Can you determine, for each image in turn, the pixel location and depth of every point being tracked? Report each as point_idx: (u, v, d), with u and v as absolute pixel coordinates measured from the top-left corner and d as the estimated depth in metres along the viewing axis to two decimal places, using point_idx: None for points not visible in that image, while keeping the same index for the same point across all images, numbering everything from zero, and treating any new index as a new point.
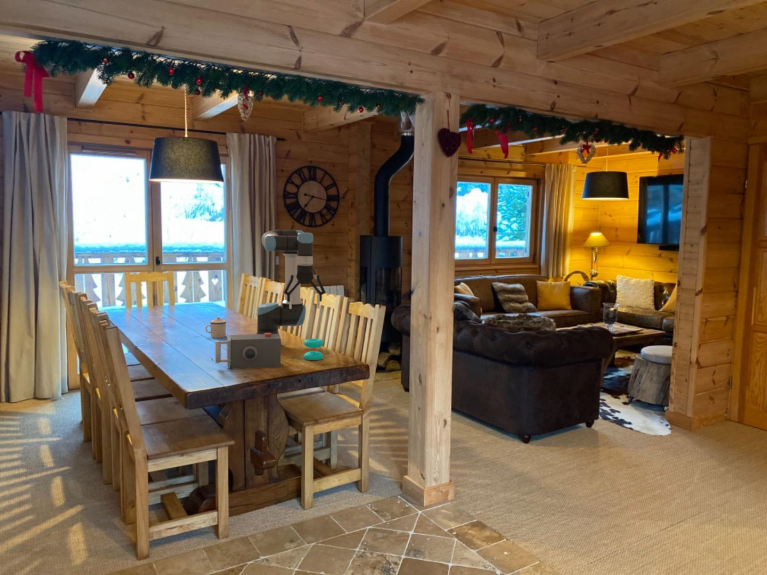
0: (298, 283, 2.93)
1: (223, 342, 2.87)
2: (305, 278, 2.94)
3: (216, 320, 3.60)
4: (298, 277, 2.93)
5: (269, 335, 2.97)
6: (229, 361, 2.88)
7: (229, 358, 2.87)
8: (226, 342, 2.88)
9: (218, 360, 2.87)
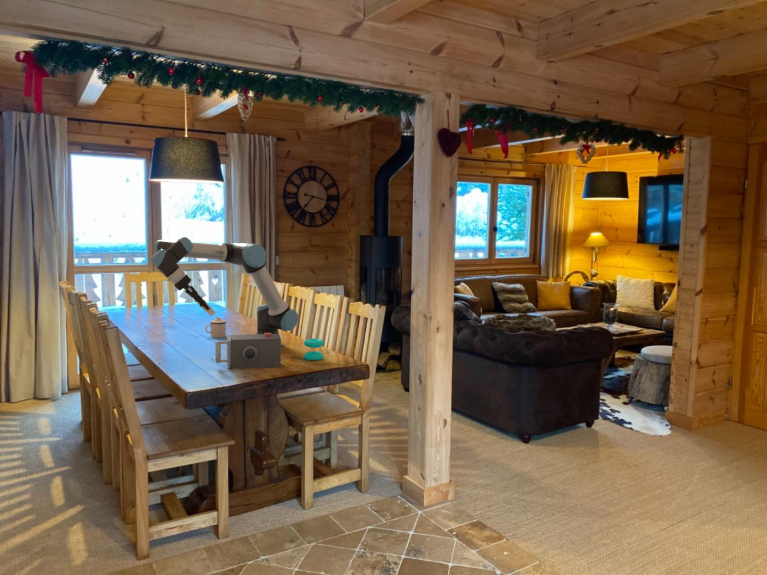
0: (189, 295, 2.85)
1: (223, 342, 2.87)
2: (187, 291, 2.82)
3: (216, 320, 3.60)
4: None
5: (269, 335, 2.97)
6: (229, 361, 2.88)
7: (229, 358, 2.87)
8: (226, 342, 2.88)
9: (218, 360, 2.87)
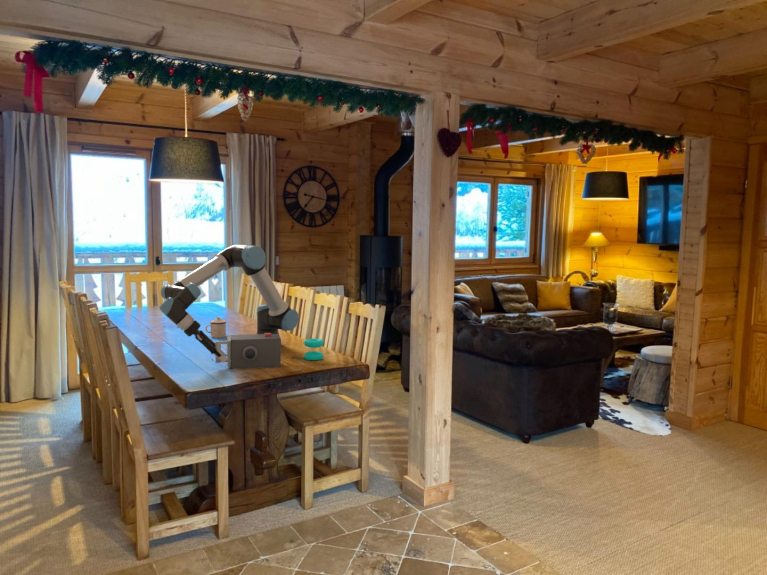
0: None
1: (223, 342, 2.87)
2: None
3: (216, 320, 3.60)
4: None
5: (269, 335, 2.97)
6: (229, 361, 2.88)
7: (229, 358, 2.87)
8: (226, 342, 2.88)
9: (218, 360, 2.87)
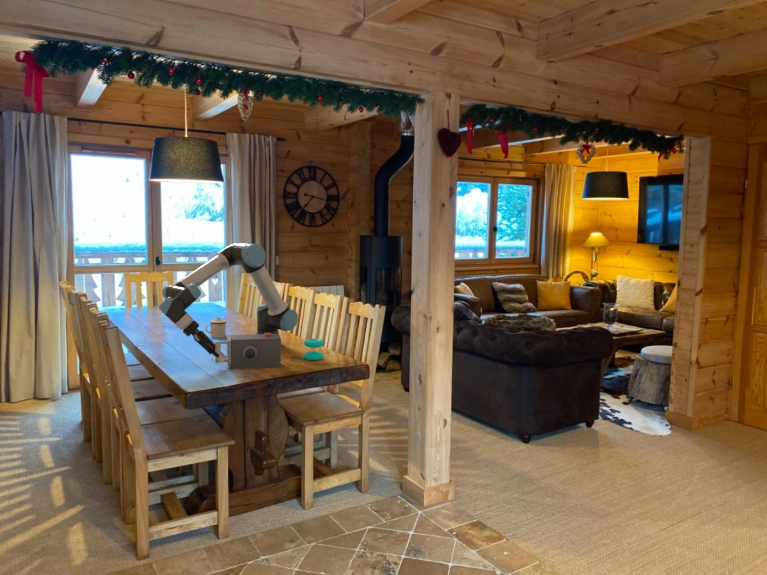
0: None
1: (223, 342, 2.87)
2: None
3: (216, 320, 3.60)
4: None
5: (269, 335, 2.97)
6: (229, 361, 2.88)
7: (229, 358, 2.87)
8: (226, 342, 2.88)
9: (218, 360, 2.87)
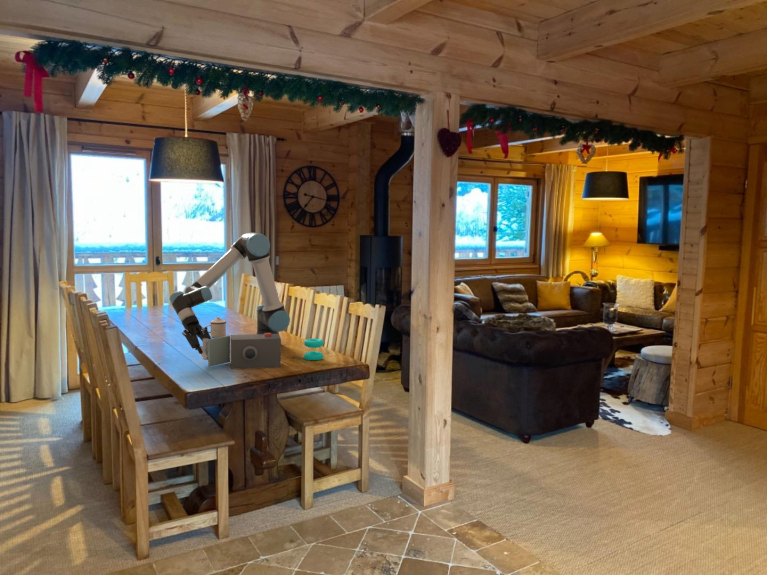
0: None
1: (207, 340, 2.91)
2: None
3: (216, 320, 3.60)
4: None
5: (269, 335, 2.97)
6: (209, 360, 2.89)
7: (209, 357, 2.89)
8: None
9: None
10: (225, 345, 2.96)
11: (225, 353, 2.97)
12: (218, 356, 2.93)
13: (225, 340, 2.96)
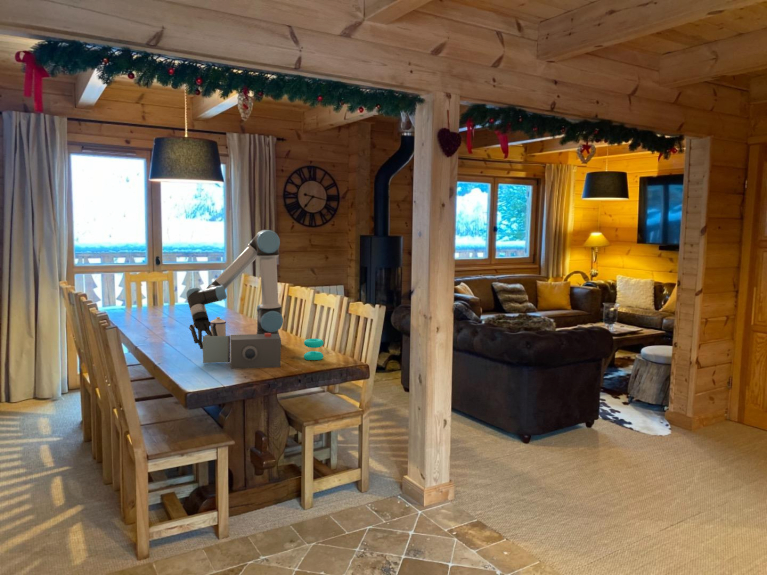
0: (206, 332, 3.09)
1: None
2: None
3: (216, 320, 3.60)
4: None
5: (269, 335, 2.97)
6: (203, 356, 2.96)
7: None
8: None
9: None
10: (223, 344, 2.97)
11: (223, 352, 2.98)
12: (214, 354, 2.97)
13: (223, 339, 2.97)
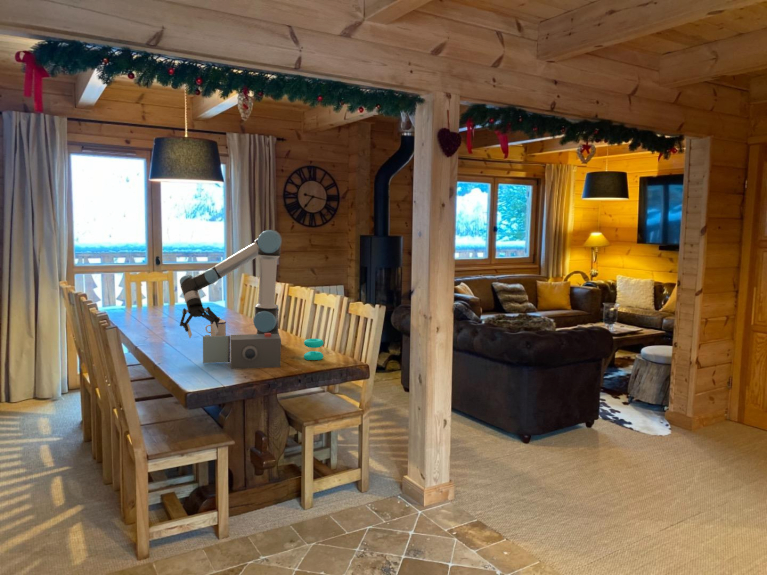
0: (203, 316, 3.17)
1: None
2: None
3: None
4: None
5: (269, 335, 2.97)
6: (203, 356, 2.96)
7: None
8: None
9: None
10: (223, 344, 2.97)
11: (223, 352, 2.98)
12: (214, 354, 2.97)
13: (223, 339, 2.97)
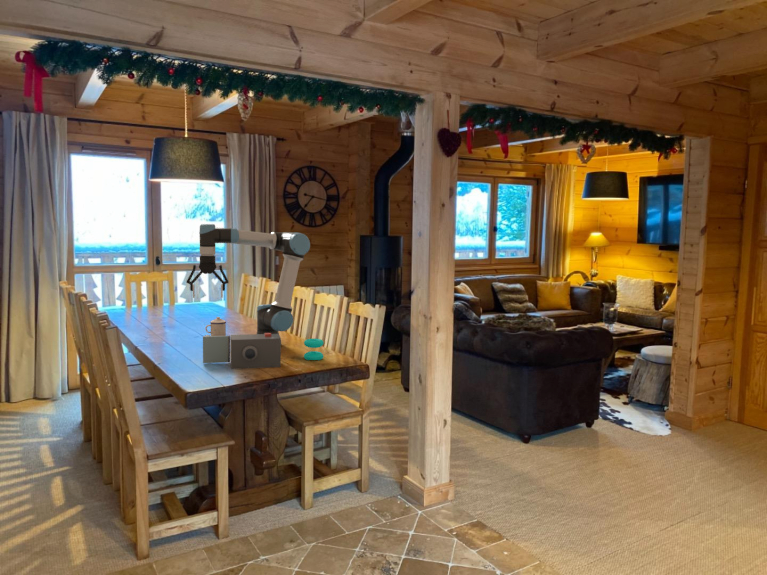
0: None
1: None
2: None
3: (216, 320, 3.60)
4: None
5: (269, 335, 2.97)
6: (203, 356, 2.96)
7: None
8: None
9: None
10: (223, 344, 2.97)
11: (223, 352, 2.98)
12: (214, 354, 2.97)
13: (223, 339, 2.97)
